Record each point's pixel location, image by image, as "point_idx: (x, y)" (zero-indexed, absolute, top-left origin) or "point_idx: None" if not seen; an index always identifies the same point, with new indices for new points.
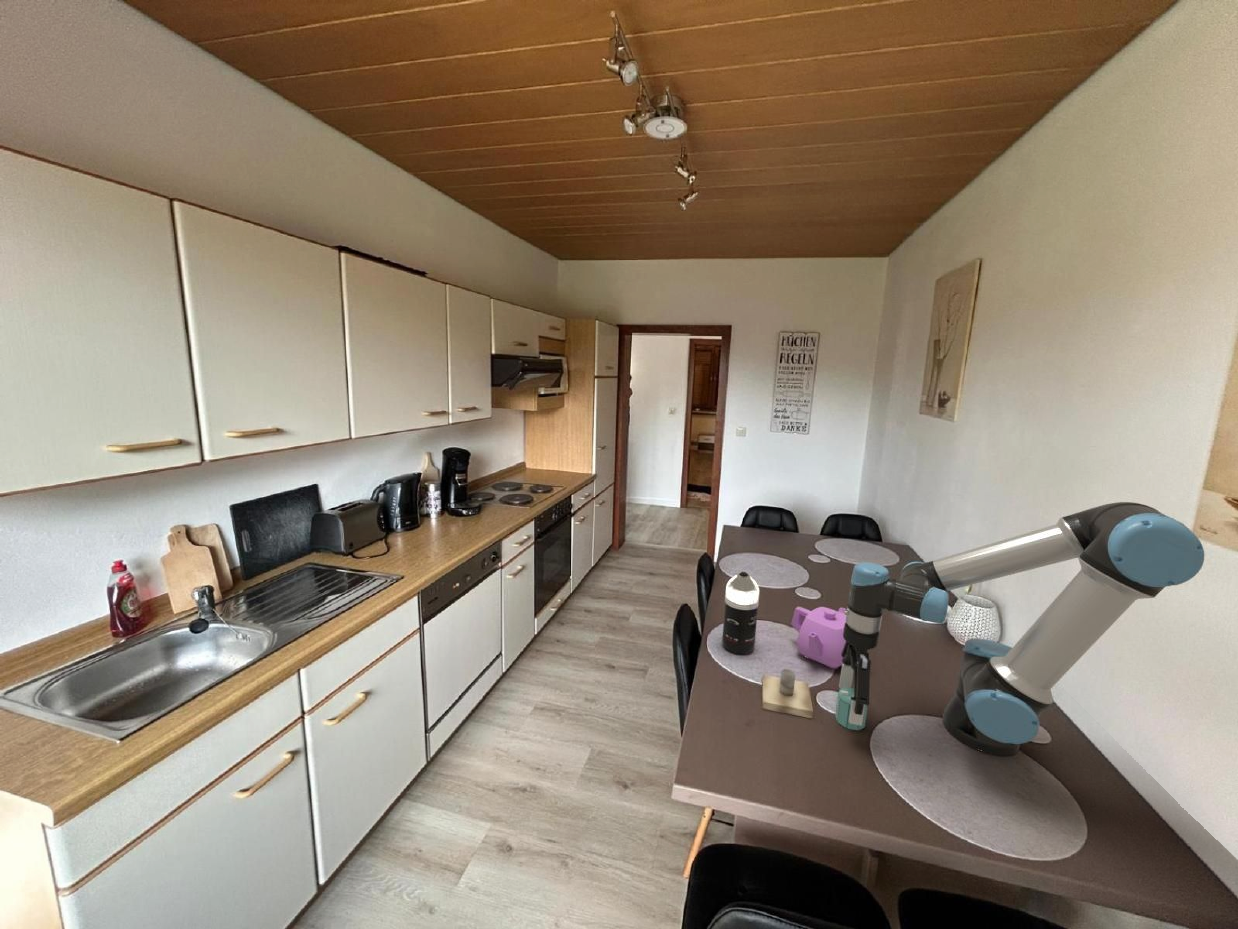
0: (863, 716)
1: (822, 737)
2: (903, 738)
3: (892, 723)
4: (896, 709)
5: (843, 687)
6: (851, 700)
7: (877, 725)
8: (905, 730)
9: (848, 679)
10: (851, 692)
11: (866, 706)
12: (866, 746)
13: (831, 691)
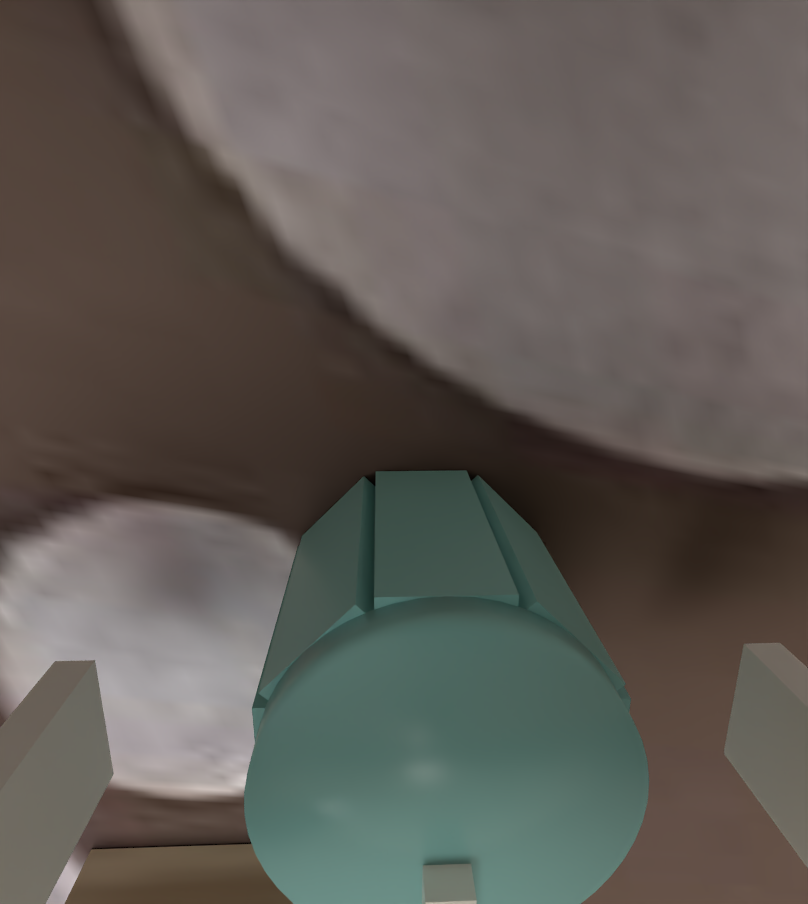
0: (539, 565)
1: (678, 789)
2: (549, 111)
3: (320, 167)
4: (8, 30)
5: (100, 750)
6: (577, 839)
7: (408, 344)
8: (402, 39)
9: (17, 829)
10: (373, 820)
11: (549, 611)
12: (729, 504)
13: (12, 675)
